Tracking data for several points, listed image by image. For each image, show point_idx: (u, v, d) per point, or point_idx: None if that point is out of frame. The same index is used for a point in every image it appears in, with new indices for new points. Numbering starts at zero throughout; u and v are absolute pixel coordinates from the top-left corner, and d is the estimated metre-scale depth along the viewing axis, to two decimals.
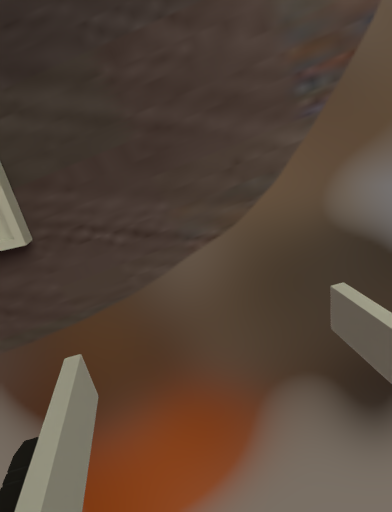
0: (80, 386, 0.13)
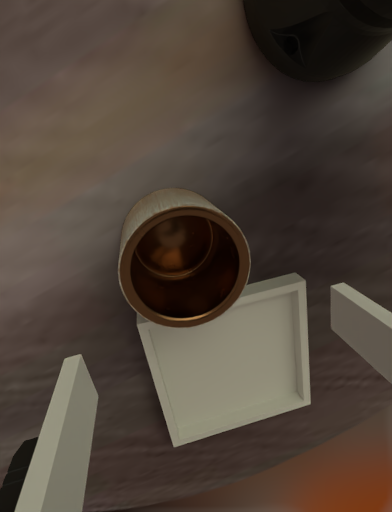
0: (80, 386, 0.13)
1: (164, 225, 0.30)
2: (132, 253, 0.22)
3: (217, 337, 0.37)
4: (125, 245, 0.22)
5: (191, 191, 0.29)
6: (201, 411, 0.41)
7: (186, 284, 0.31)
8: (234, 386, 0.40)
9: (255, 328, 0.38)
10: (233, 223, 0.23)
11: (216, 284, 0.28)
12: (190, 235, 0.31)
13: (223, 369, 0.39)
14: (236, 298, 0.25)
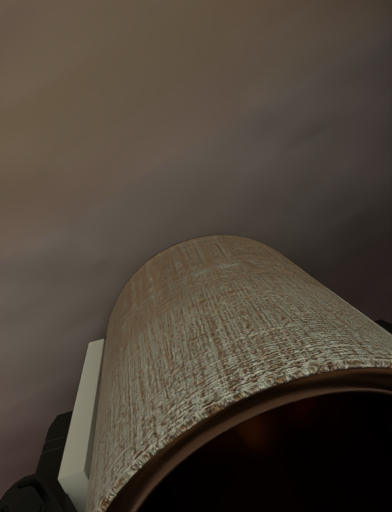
0: None
1: None
2: None
3: None
4: None
5: (259, 244, 0.13)
6: None
7: (243, 428, 0.15)
8: None
9: None
10: None
11: (325, 465, 0.12)
12: None
13: None
14: None
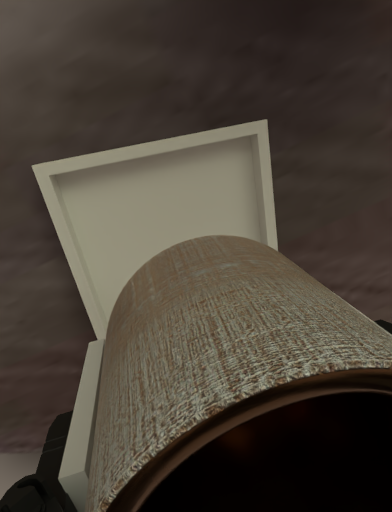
0: None
1: None
2: None
3: (155, 209, 0.28)
4: None
5: (259, 244, 0.13)
6: None
7: (243, 428, 0.15)
8: None
9: (206, 200, 0.29)
10: None
11: (325, 466, 0.12)
12: None
13: None
14: None
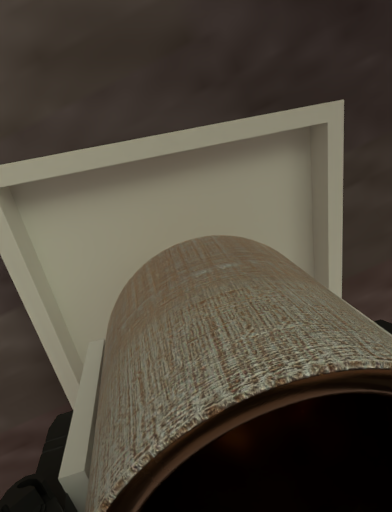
0: None
1: None
2: None
3: (165, 236, 0.19)
4: None
5: (259, 244, 0.13)
6: None
7: (243, 428, 0.15)
8: None
9: (240, 222, 0.19)
10: None
11: (325, 466, 0.12)
12: None
13: None
14: None
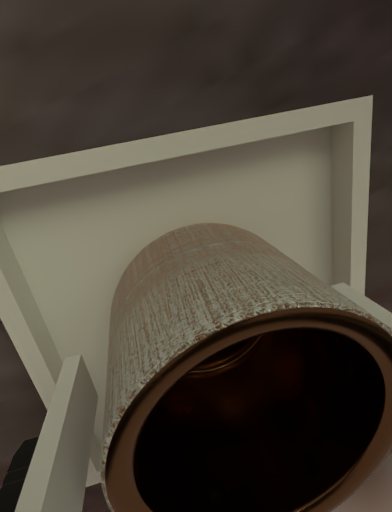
0: (80, 386, 0.13)
1: None
2: (138, 433, 0.08)
3: None
4: (118, 420, 0.08)
5: (243, 230, 0.15)
6: None
7: (231, 393, 0.17)
8: None
9: None
10: None
11: (300, 416, 0.14)
12: None
13: None
14: (367, 479, 0.11)
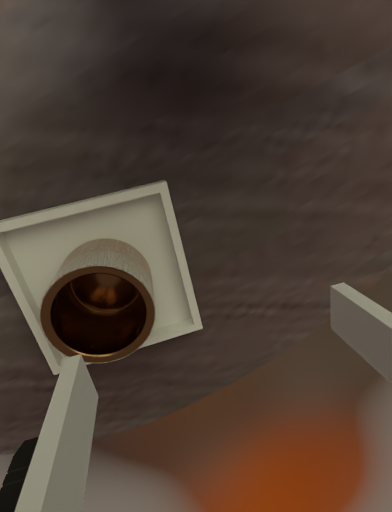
0: (80, 386, 0.13)
1: None
2: (50, 306, 0.27)
3: None
4: (42, 301, 0.26)
5: (116, 241, 0.34)
6: None
7: (119, 319, 0.36)
8: None
9: (128, 242, 0.36)
10: (133, 276, 0.27)
11: (137, 321, 0.32)
12: (120, 277, 0.35)
13: None
14: (147, 335, 0.30)
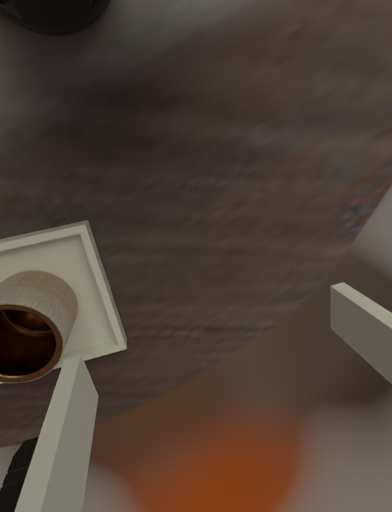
0: (80, 386, 0.13)
1: None
2: None
3: None
4: None
5: (41, 274, 0.39)
6: None
7: (45, 341, 0.40)
8: None
9: (56, 273, 0.41)
10: (41, 312, 0.32)
11: (55, 345, 0.37)
12: None
13: None
14: (57, 361, 0.34)
